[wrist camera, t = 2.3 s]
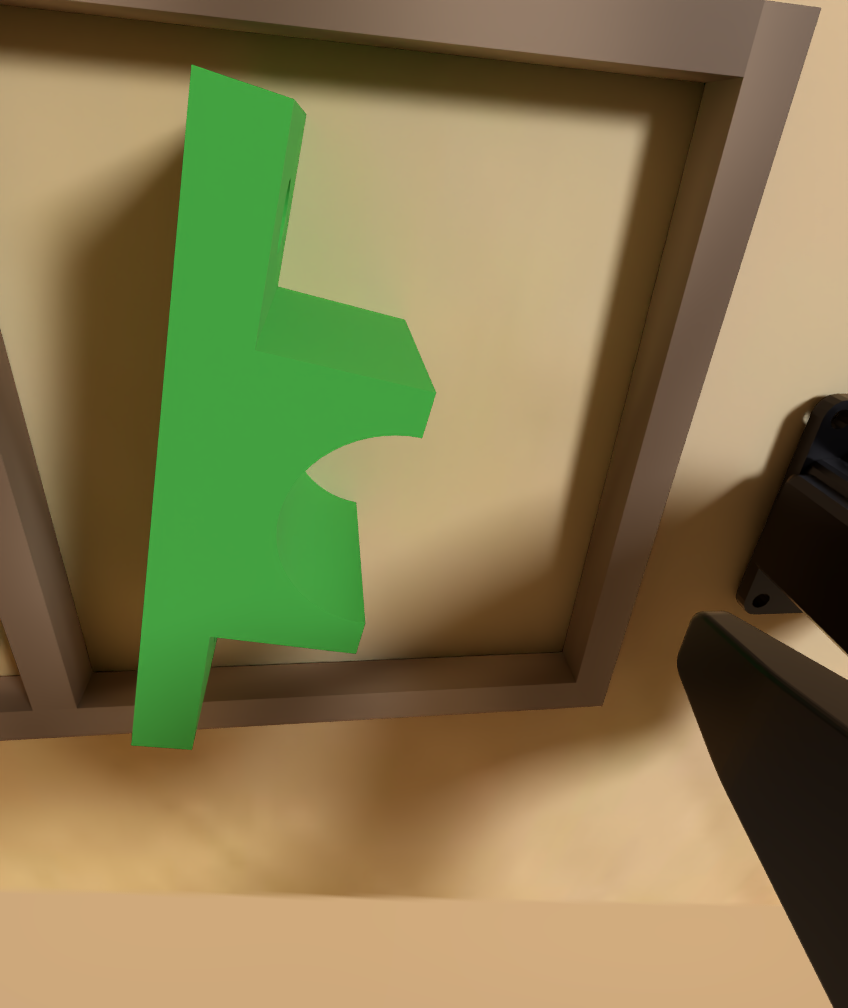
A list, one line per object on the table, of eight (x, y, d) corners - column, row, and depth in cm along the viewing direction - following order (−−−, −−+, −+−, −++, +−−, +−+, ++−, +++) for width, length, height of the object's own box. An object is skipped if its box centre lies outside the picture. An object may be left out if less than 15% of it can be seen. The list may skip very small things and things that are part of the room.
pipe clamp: (325, 614, 17) (323, 761, 13) (180, 595, 16) (129, 748, 12) (447, 158, 11) (507, 170, 8) (240, 88, 10) (186, 61, 7)
